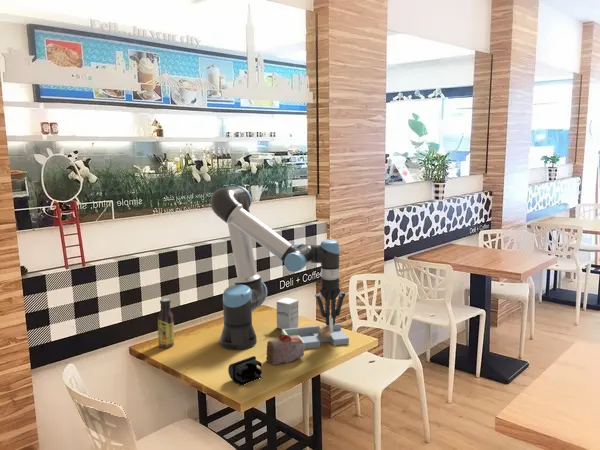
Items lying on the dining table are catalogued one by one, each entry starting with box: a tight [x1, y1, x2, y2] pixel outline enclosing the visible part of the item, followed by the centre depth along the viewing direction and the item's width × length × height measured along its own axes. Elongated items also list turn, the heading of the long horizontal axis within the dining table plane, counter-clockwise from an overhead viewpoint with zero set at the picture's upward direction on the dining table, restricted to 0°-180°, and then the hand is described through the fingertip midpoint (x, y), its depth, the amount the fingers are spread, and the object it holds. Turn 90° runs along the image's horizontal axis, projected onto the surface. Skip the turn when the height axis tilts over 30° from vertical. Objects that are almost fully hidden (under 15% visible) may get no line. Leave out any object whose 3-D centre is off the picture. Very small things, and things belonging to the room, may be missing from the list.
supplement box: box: [276, 297, 299, 330], centre depth 226 cm, size 7×7×13 cm
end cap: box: [227, 355, 263, 386], centre depth 177 cm, size 10×7×7 cm
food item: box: [265, 333, 305, 366], centre depth 193 cm, size 14×8×10 cm, turn 121°
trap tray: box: [281, 322, 350, 350], centre depth 210 cm, size 26×11×5 cm, turn 105°
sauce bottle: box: [157, 297, 175, 349], centre depth 206 cm, size 7×6×20 cm
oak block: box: [317, 324, 330, 338], centre depth 210 cm, size 4×4×4 cm
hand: (330, 332), depth 211 cm, fingers closed
